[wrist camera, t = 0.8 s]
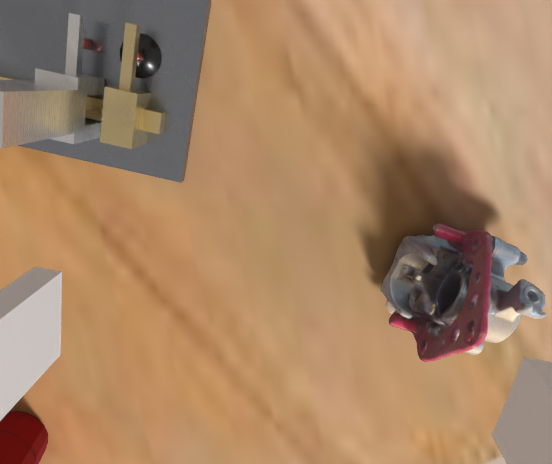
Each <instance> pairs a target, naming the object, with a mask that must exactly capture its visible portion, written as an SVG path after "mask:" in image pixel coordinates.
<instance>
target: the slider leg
mask: <svg viewBox="0 0 552 464" xmlns="http://www.w3.org/2000/svg"><path fill="white" fill-rule="evenodd" d="M84 30H85V17H84V16H81V15H77V14H72V13H69V18H68V35H67V51H66V68H65V70H58V69H41V68H35V80H0V148H7V147H12V146H17V145H21V144H26V143H31V142H35V141H40V140H45V139H52V140H57V141H61V142H65V143H70V144H77V143H81V142H85V141H89V140H93V139H96V138H100V130H101V123H100V122H96V121H91V120H87V119H85V116H86V103H87V95H104V84H105V79H104V78H100V77H95V76H91V75H87V74H82V73H81V72H82V58H83V49H86V50H90V49H92V47H93V43H92V41H91V40H90V39H88V38H84Z"/></svg>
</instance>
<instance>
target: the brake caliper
mask: <svg viewBox="0 0 552 464" xmlns="http://www.w3.org/2000/svg"><path fill="white" fill-rule="evenodd" d="M433 232H434V235H433V236H427V235H423V234H421V235H417V236H406V237H404V238H403V240H402V242H401V244H400V245H399V247H398V249H397V252H396V255H395V258H394V261H393V264H392V266H391V268H390V270H389V272H388V273H387V275H386V277H385V278H384V280H383V283H382V285H381V292H382V293H383V294H384V295H385V297H386V298H387V302H386V307H387V309H388V310H389V312H390V313H391V314H392V315H391V317H390V319H389V324H390V325H391V326H394V327H397V328H400V329H403V330H407V331H410V332H412V333H413V334H414V337H415V340H416V342H417V351H418V355H419V358H420V359H421V360H422V361H424V362H428V361H435V360H439V359H441V358H444V357H448V356H450V355H453V354H459V353H463V352H467V353H470V354H474V355H476V354H479V353H480V352H481V351H482V349H483V344H482V343H483V341H487V342H492V343H498V342H501V341H503V340H505V339H506V338H507V337H509V336H510V335H511V334H512V333H513V331H514V330H515V328H516V327H517V325H518V323H519V319H520V316H521V315H525V316H529V317H532V318H535V319H540V318H543V317H545V316H546V313H544V312H542V309H543V307H544V306H545V295H544V293H543V292H542V291H541V290H540V289H539V288H537V287H536V286H535V285H534V284H532V283H530V282H528V281H526V280H519V281H518V282H517V284H516V285H514V286H513V285H511V284H509V283H507V282H505V280H504V270H505V269H506V268H507V267H508V266H510V265H523V264H525V263H526V262H527V256H526V255H525V254H524V253H522V252H521V251H520V250H519V249H518V248H517V247H515V246H513V245H511V244H508V243H506V242H504V241H502V240H501V239H499V238H497V237H494V236H491V235H490V234H489V233H488V232H485V231H481V230H478V229H473V230H458V229H455V228H452V227H450V226H447V225H444V224H441V223H437V224H435V225H434V227H433Z"/></svg>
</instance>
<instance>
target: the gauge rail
mask: <svg viewBox="0 0 552 464" xmlns="http://www.w3.org/2000/svg"><path fill="white" fill-rule="evenodd" d="M140 29H141V26H138V25H134V24H130V23H126V22H125V32H124V42H123V53H122V63H121V73H120V83H119V86H113V87H105V88H104V98H101V97H96V96H92V95H87V103H86V116H85V118H90V119H94V120H99V121H102V122H101V133H100V142H102V143H106V144H110V145H115V146H119V147H124V148H128V149H133V148H136V147H139V146H141V145H144V144H146V139H147V132H151V133H156V134H161V133H164V126H165V119H166V112H162V111H158V110H153V109H150V107H151V98H152V93H149V92H144V91H140V90H136V89H134V84H135V75H136V66H137V61H139V62H141V61H143V60H144V58H145V55H144V53H143V52H142V51H140V50H138V47H139V38H140ZM0 80H21V79H17V78H13V77H8V76H4V75H0Z"/></svg>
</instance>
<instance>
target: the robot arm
mask: <svg viewBox="0 0 552 464" xmlns="http://www.w3.org/2000/svg"><path fill="white" fill-rule="evenodd" d="M61 295H62V272H60V271H55V270H50V269H44V268H39V267H34V268H33V269H31V270H30V271H28V272H27V273H25V274H24V275H22V276H21V277H19V278H18V279H17V280H15V281H14V282H12V283H11V284H9V285H8V286H6V287H5V288H3V289H2V290H0V421H1V420H2V419H3V418H4V416H5V415H6V414H7V413H8V412H9V411H10V410H11V409H12V408H13V407H14V405H15V404H16V403H17V402H18V401H19V400H20V399H21V398H22V397H23V395H24V394H25V393H26V392H27V391H28V390H29V389H30V388H31V387H32V386H33V384H34V383H35V382H36V381H37V380H38V379H39V378H40V377H41V376H42V375H43V373H44V372H45V371H46V370H47V369H48V368H49V367H50V366H51V365H52V364H53V362H54V361H55V360H56V359H57V358H58V357H59V356H60V352H61ZM492 436H493V438H494V440H495V442H496V444H497V446H498V448H499V450H500V451H501V453H502V455H503V457H504V459H505V461H506V463H507V464H552V363H551V362H548V361H542V360H537V359H532V358H526V357H524V358H523V360H522V363H521V365H520V368H519V370H518V372H517V375H516V377H515V380H514V382H513V385H512V387H511V390H510V392H509V394H508V397H507V399H506V402H505V404H504V407H503V409H502V412H501V414H500V417H499V419H498V421H497V424H496V426H495V429H494V431H493V434H492Z"/></svg>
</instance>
